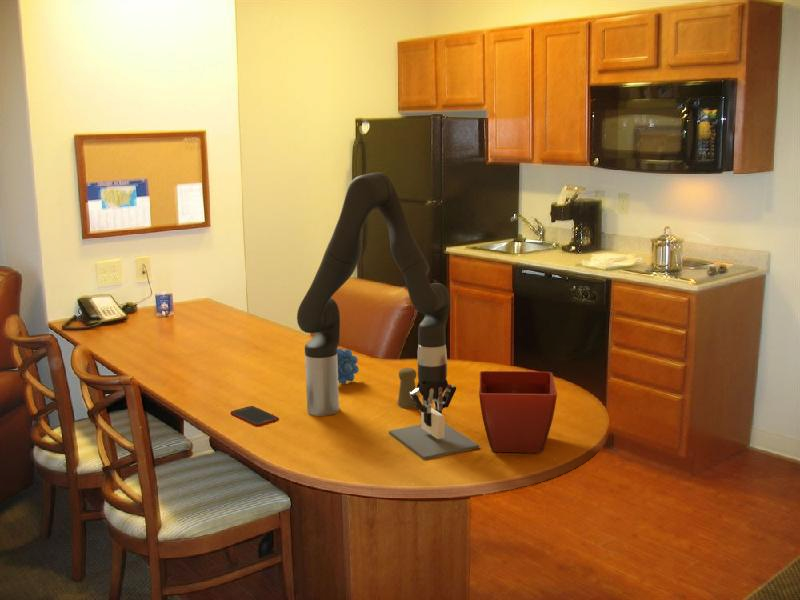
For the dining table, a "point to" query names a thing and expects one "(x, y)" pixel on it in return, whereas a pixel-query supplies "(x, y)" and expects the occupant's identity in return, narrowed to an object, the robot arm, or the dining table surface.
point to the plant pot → (517, 409)
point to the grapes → (346, 365)
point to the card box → (434, 424)
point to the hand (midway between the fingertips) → (432, 424)
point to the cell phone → (254, 416)
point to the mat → (433, 441)
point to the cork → (406, 387)
